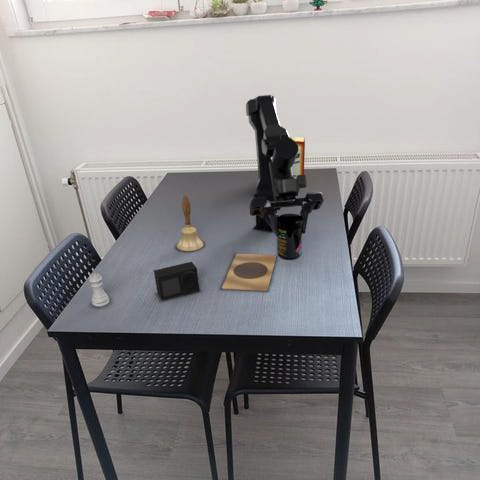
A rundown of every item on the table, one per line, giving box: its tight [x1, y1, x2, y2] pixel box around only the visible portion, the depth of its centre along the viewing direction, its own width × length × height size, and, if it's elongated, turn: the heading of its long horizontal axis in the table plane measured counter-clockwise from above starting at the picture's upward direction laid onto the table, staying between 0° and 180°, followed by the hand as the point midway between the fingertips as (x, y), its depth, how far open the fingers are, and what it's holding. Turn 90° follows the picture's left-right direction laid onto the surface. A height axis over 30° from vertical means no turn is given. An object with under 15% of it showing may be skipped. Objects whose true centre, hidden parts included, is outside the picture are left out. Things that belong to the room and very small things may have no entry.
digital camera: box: [153, 261, 200, 301], centre depth 124 cm, size 10×5×7 cm, turn 114°
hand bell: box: [176, 195, 204, 252], centre depth 145 cm, size 8×8×16 cm
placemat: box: [221, 253, 277, 292], centre depth 134 cm, size 20×12×1 cm, turn 170°
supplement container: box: [276, 213, 304, 261], centre depth 126 cm, size 7×7×10 cm
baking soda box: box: [291, 137, 306, 179], centre depth 195 cm, size 10×6×16 cm
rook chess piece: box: [88, 272, 111, 308], centre depth 121 cm, size 4×4×8 cm
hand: (290, 234), depth 124 cm, fingers closed on supplement container, 7 cm apart
